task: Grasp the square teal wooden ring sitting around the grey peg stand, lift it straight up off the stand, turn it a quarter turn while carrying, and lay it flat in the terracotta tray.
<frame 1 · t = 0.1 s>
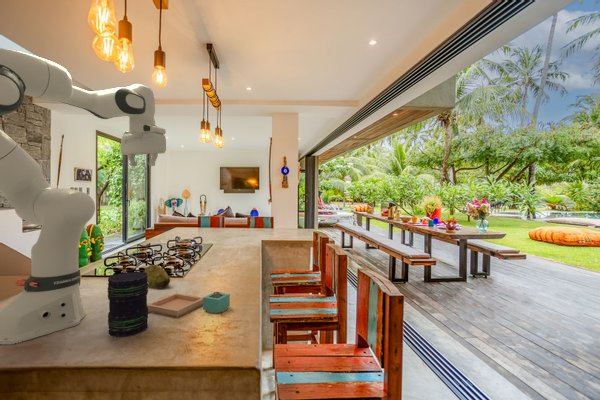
hand: (142, 166, 121), 48 cm above the counter, fingers open, 8 cm apart
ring: (216, 307, 103), resting on grey peg stand
grey peg stand: (216, 309, 103), on the counter
potato: (156, 286, 128), on the counter
tray: (176, 307, 105), on the counter
storage jar: (128, 330, 88), on the counter
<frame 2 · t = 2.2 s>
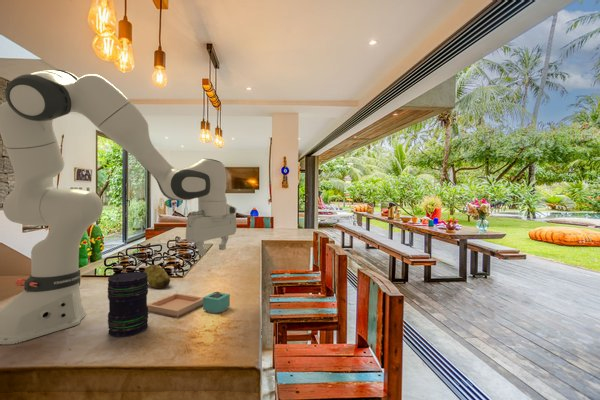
hand: (212, 252, 103), 19 cm above the counter, fingers open, 8 cm apart
nothing on the counter moved.
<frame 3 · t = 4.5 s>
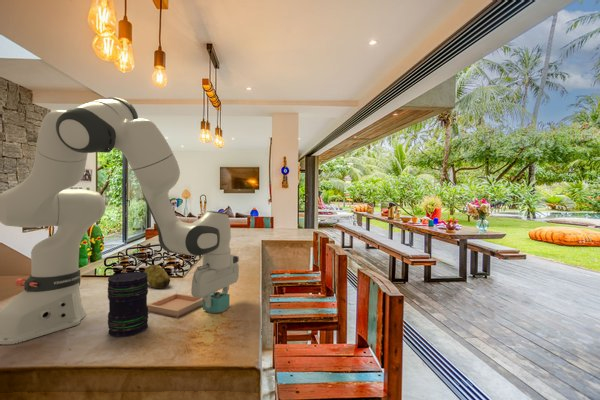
hand: (216, 303, 103), 2 cm above the counter, fingers closed on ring, 6 cm apart
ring: (216, 307, 103), resting on grey peg stand, touching gripper
everything else where it was.
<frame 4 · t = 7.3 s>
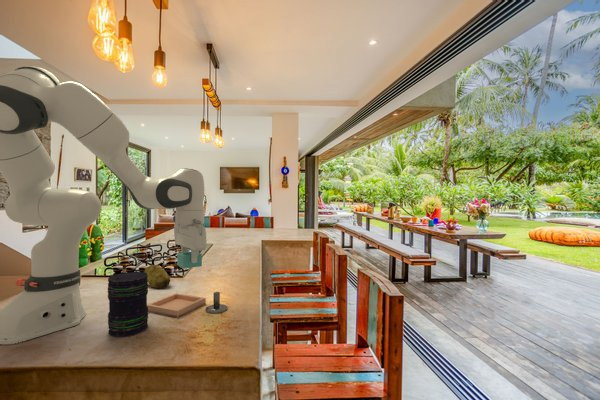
hand: (189, 260, 104), 16 cm above the counter, fingers closed on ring, 6 cm apart
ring: (189, 265, 104), point 14 cm above the counter, touching gripper
everything else where it was.
when the fingers open (4 cm above the counter, at t = 10.5 s): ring drops 1 cm, resting on tray.
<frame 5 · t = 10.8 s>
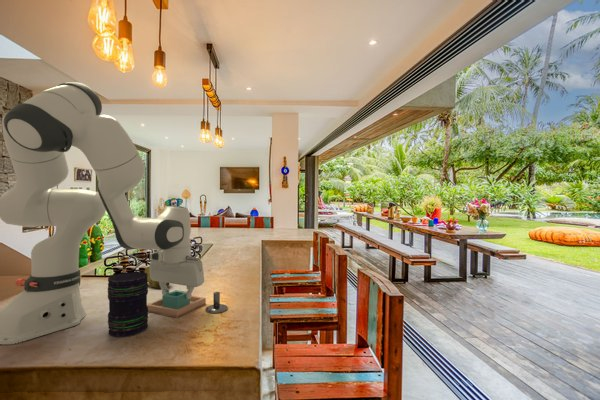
hand: (176, 296, 105), 4 cm above the counter, fingers open, 8 cm apart
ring: (176, 305, 105), point 1 cm above the counter, touching tray
everything else where it was.
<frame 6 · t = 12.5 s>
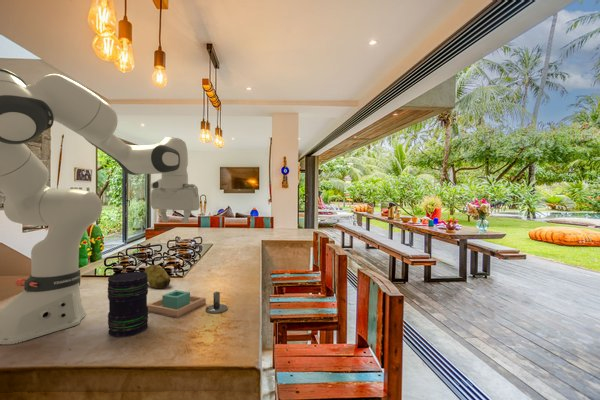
hand: (175, 222, 114), 27 cm above the counter, fingers open, 8 cm apart
nothing on the counter moved.
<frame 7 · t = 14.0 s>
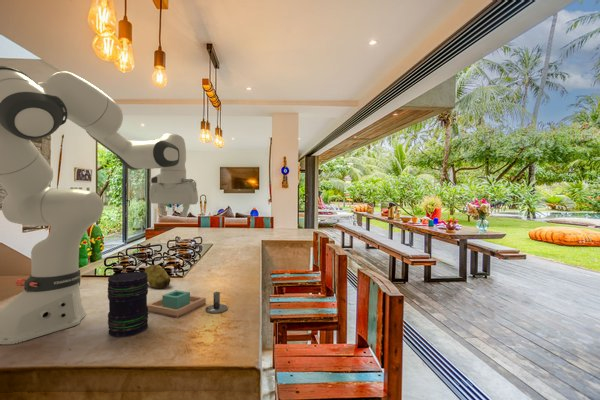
hand: (173, 216, 117), 29 cm above the counter, fingers open, 8 cm apart
nothing on the counter moved.
at the end: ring inside the target area on the tray (0.1 cm from its centre), point 0.6 cm above the tray's base; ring tilted 0°; the gripper is holding nothing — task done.
